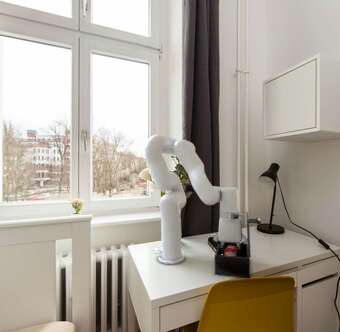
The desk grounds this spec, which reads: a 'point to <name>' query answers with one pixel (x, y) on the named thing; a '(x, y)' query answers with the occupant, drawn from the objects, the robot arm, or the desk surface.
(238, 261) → the bin
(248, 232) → the bin lid
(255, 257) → the desk surface
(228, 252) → the race car
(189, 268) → the desk surface
